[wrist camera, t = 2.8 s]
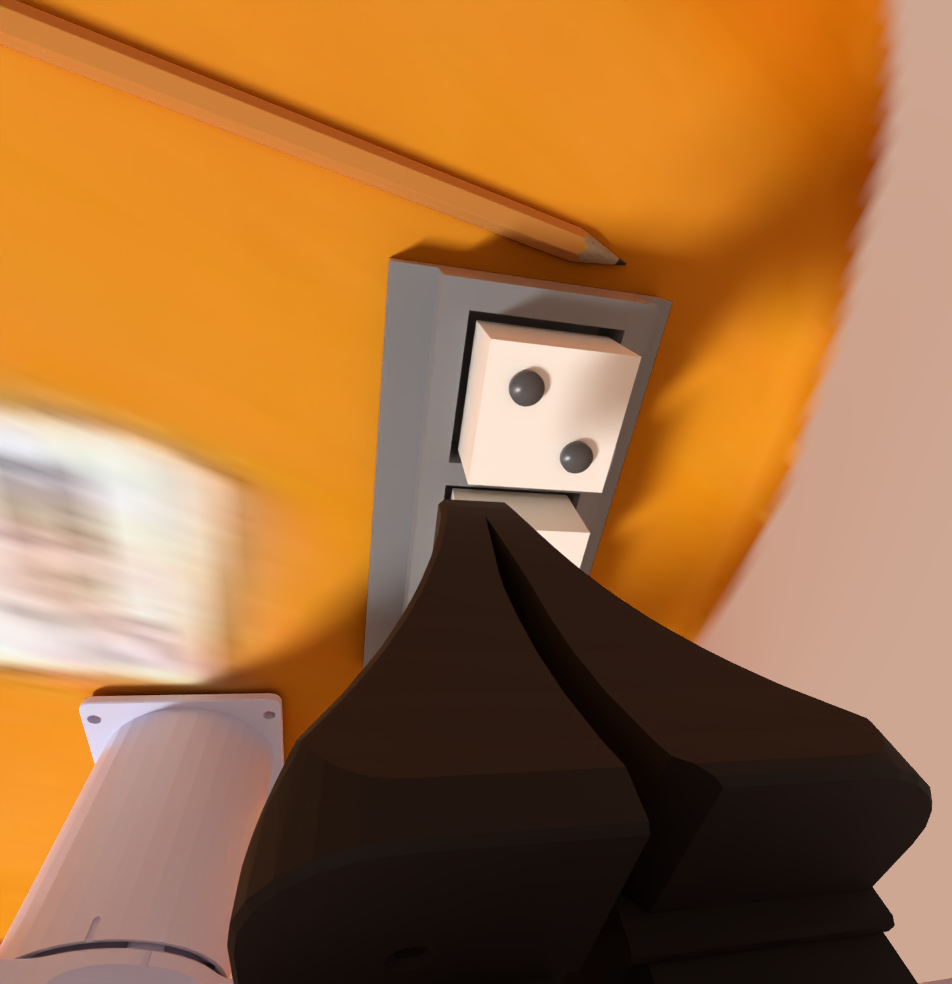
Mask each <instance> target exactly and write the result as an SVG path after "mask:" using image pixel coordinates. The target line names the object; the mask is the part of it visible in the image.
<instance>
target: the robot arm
mask: <svg viewBox="0 0 952 984" xmlns="http://www.w3.org/2000/svg"><path fill="white" fill-rule="evenodd" d="M269 711H272V712H269ZM79 712H80V716H81V719H82V723H83V726H84V729H85V733H86V736H87V739H88V743H89V746H90V750H91V753H92V756H93V760H94V763H95V766H94V768H93V770H92V772H91V773H90V775H89V777H88V779H87V781H86V783H85V785H84V787H83V789H82V791H81V793H80V795H79V796H78V798H77V800H76V802H75V804H74V806H73V808H72V810H71V812H70V814H69V816H68V818H67V819H66V821H65V823H64V825H63V827H62V829H61V831H60V833H59V835H58V837H57V839H56V840H55V842H54V844H53V846H52V848H51V850H50V852H49V854H48V856H47V858H46V860H45V862H44V863H43V865H42V867H41V869H40V871H39V873H38V875H37V877H36V879H35V881H34V883H33V885H32V886H31V888H30V890H29V892H28V894H27V896H26V898H25V900H24V902H23V904H22V906H21V908H20V909H19V911H18V913H17V915H16V917H15V919H14V921H13V923H12V925H11V927H10V929H9V930H8V932H7V934H6V936H5V938H4V940H3V942H2V944H1V946H0V984H952V978H950V979H944V980H937V981H931V982H924V983H917V982H916V980H915V979H914V977H913V976H912V974H911V973H910V971H909V970H908V968H907V967H906V965H905V964H904V962H903V961H902V960H901V958H900V957H899V955H898V953H897V952H896V950H895V949H894V948H893V946H892V945H891V943H890V942H889V940H888V939H887V937H886V936H885V935H884V933H883V932H886V931H889V930H890V929H891V928H893V927H894V920H893V915H892V914H891V913H890V912H889V910H888V908H887V907H886V906H885V904H884V903H883V901H882V900H881V898H880V897H879V896H878V894H877V893H876V891H875V890H874V888H873V885H874V884H875V883H876V882H877V881H878V880H879V879H880V878H881V877H882V876H883V875H884V874H885V873H886V872H887V871H888V870H889V868H890V867H891V866H892V865H893V864H894V863H895V862H896V861H897V860H898V859H899V858H900V857H901V856H902V855H903V853H905V851H906V850H907V849H908V848H909V847H910V846H911V845H912V844H913V843H914V841H915V840H916V839H917V838H918V836H919V835H920V834H921V832H922V831H923V830H924V828H925V827H926V825H927V822H928V819H929V817H930V813H931V811H932V799H931V790H930V787H929V785H928V784H927V783H926V782H925V781H924V780H923V779H922V778H921V777H920V776H919V774H918V773H917V772H916V771H915V770H914V769H913V768H912V767H911V766H910V764H909V763H908V762H907V761H906V760H905V759H904V758H903V757H902V756H901V754H900V753H899V752H898V751H897V750H896V749H895V748H894V747H893V746H892V744H891V743H890V742H889V741H888V740H887V739H886V738H885V737H884V736H883V734H882V733H881V732H880V731H879V730H878V729H877V728H876V727H875V726H874V725H873V724H872V723H871V721H869V720H868V719H867V718H865V717H862V716H860V715H857V714H854V713H852V712H849V711H847V710H844V709H842V708H839V707H836V706H834V705H831V704H828V703H826V702H824V701H821V700H818V699H816V698H813V697H811V696H808V695H806V694H803V693H800V692H798V691H795V690H792V689H790V688H788V687H785V686H783V685H780V684H778V683H776V682H773V681H771V680H769V679H767V678H765V677H762V676H760V675H758V674H756V673H753V672H751V671H749V670H747V669H745V668H743V667H740V666H738V665H736V664H733V663H731V662H730V661H728V660H726V659H724V658H722V657H720V656H718V655H715V654H714V653H712V652H709V651H708V650H706V649H704V648H702V647H700V646H698V645H696V644H694V643H693V642H691V641H689V640H687V639H685V638H684V637H682V636H680V635H678V634H676V633H674V632H673V631H671V630H669V629H667V628H665V627H664V626H662V625H660V624H659V623H657V622H655V621H654V620H652V619H650V618H649V617H647V616H646V615H644V614H642V613H641V612H639V611H638V610H636V609H635V608H633V607H632V606H630V605H629V604H627V603H626V602H624V601H623V600H621V599H620V598H618V597H617V596H615V595H614V594H612V593H611V592H610V591H608V590H607V589H605V588H604V587H603V586H601V585H600V584H599V583H597V582H596V581H595V580H594V579H592V578H591V577H590V576H589V575H587V574H586V573H585V572H583V571H582V570H581V569H580V568H578V567H577V566H576V565H575V564H573V563H572V562H571V561H570V560H569V559H567V558H566V557H565V556H564V555H563V554H562V553H560V552H559V551H558V550H557V549H556V548H555V547H554V546H552V545H551V544H550V543H549V542H548V541H547V540H546V539H545V538H544V537H542V536H541V535H540V534H539V533H538V532H537V531H536V530H535V529H534V528H533V527H532V526H531V525H530V524H528V523H527V522H526V521H525V520H524V519H523V518H522V517H521V516H520V515H519V514H518V513H517V512H515V511H514V510H513V509H512V508H511V507H510V506H509V505H507V504H506V503H505V502H489V501H470V500H451V499H444V500H443V501H442V502H440V503H439V504H438V511H437V519H436V527H435V536H434V544H433V552H432V555H431V558H430V560H429V562H428V565H427V567H426V570H425V572H424V574H423V577H422V579H421V581H420V583H419V585H418V587H417V589H416V591H415V593H414V595H413V597H412V599H411V601H410V602H409V604H408V606H407V608H406V609H405V611H404V613H403V615H402V616H401V618H400V619H399V621H398V622H397V624H396V625H395V627H394V628H393V630H392V632H391V633H390V635H389V636H388V638H387V639H386V640H385V642H384V643H383V645H382V646H381V647H380V649H379V650H378V651H377V653H376V654H375V655H374V656H373V658H372V659H371V660H370V661H369V663H368V664H367V665H366V666H365V667H364V669H363V670H362V671H361V672H360V674H359V675H358V676H357V677H356V678H355V680H354V681H353V682H352V683H351V685H350V686H349V687H348V688H347V689H346V690H345V691H344V693H343V694H342V695H341V696H340V697H339V698H338V699H337V700H336V701H335V702H334V703H333V704H332V705H331V706H330V707H329V708H328V709H327V710H326V711H325V712H324V713H323V714H322V715H321V716H320V717H319V718H318V719H317V720H316V721H315V722H314V723H313V724H312V725H311V726H310V727H309V728H308V729H307V730H306V731H305V732H304V733H303V734H302V735H301V736H300V737H299V738H298V740H297V741H296V743H295V745H294V747H293V749H292V750H291V752H290V754H289V756H288V758H287V760H286V762H285V764H284V744H283V716H282V699H281V697H279V696H278V695H276V694H273V693H252V694H193V695H134V696H92V697H88V698H86V699H84V701H83V702H82V704H81V705H80V707H79ZM231 972H232V977H233V979H230V974H231Z"/></svg>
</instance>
